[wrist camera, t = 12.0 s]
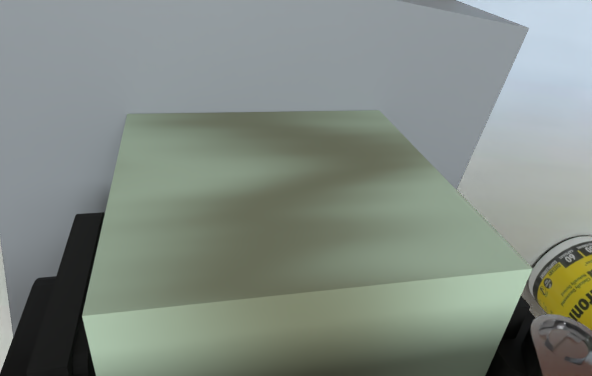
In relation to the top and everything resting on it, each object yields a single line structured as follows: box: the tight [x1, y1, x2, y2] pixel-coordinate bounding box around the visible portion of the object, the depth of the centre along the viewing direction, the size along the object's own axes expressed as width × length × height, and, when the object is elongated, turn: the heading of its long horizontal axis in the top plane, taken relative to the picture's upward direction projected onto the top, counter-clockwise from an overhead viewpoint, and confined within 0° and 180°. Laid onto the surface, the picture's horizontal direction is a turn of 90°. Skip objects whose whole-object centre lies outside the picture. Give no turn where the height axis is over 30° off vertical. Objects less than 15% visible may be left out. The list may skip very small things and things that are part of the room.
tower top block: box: [0, 0, 529, 337], centre depth 14 cm, size 12×12×4 cm
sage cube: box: [82, 110, 533, 376], centre depth 10 cm, size 6×6×6 cm
